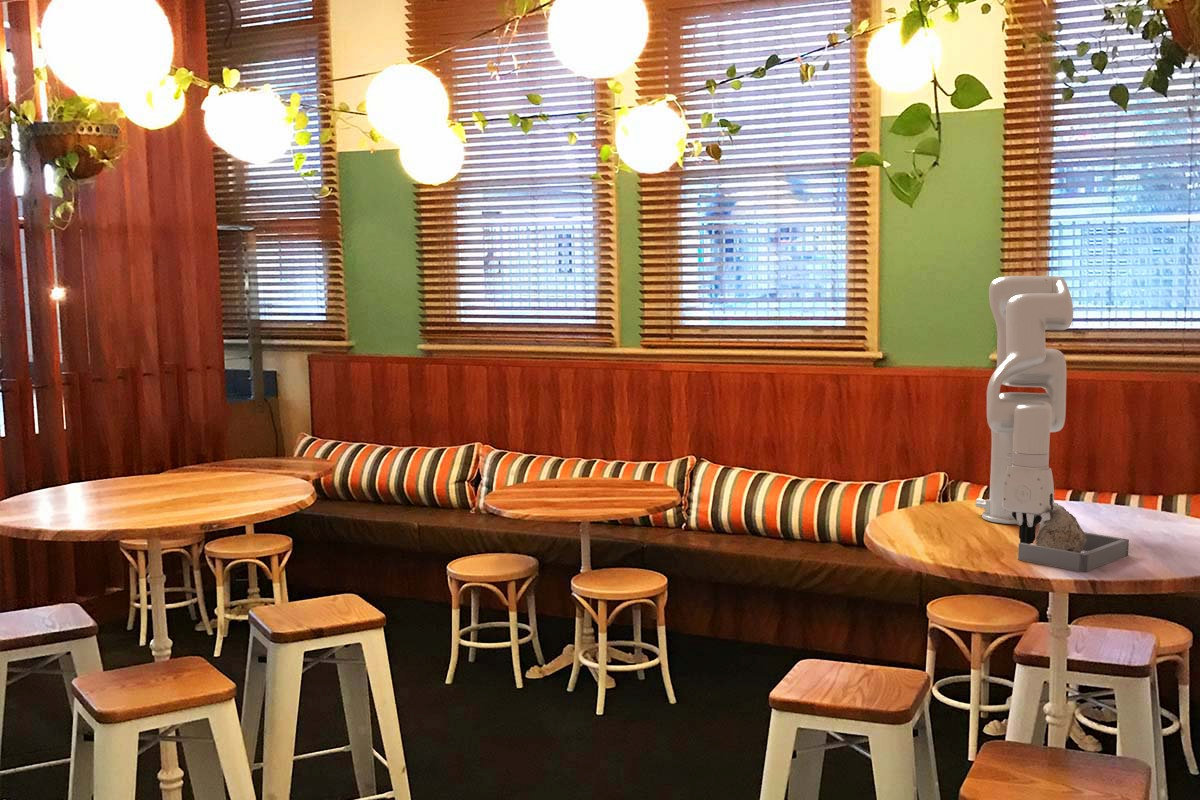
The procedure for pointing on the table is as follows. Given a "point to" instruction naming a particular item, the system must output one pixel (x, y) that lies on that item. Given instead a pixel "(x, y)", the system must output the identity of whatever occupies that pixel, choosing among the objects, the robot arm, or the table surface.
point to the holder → (1099, 554)
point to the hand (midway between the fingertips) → (1026, 543)
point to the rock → (1061, 532)
